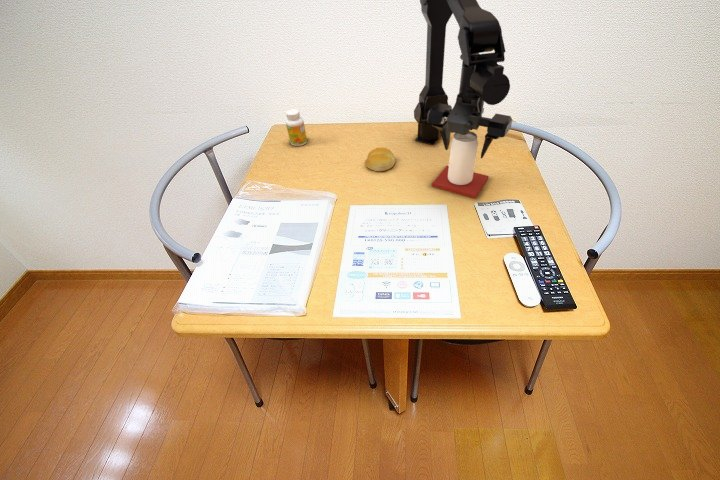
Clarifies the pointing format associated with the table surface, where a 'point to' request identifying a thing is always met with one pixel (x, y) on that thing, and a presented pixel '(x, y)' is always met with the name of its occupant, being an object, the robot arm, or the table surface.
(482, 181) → the pad
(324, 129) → the table surface
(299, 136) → the supplement bottle
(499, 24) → the robot arm
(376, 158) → the bread roll
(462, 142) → the can
